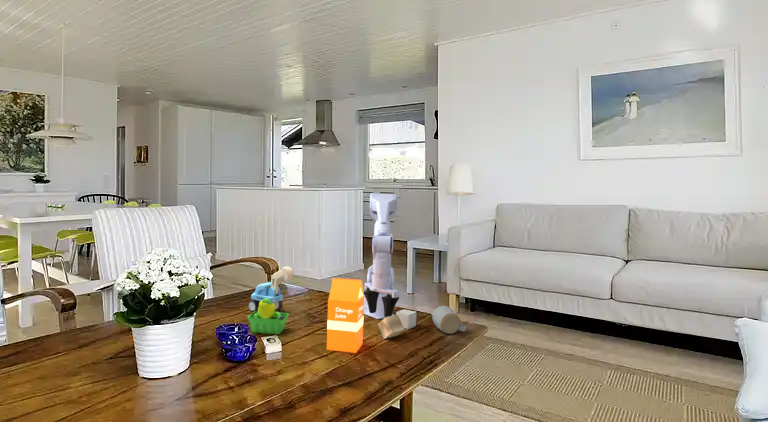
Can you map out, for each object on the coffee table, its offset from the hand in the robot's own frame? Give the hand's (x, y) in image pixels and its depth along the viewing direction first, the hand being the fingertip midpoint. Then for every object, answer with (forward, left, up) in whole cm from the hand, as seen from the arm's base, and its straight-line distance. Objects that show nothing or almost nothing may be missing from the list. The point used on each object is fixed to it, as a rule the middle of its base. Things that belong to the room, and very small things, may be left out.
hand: (380, 315), depth 149 cm
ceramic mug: (+11, +21, -6) cm, 25 cm away
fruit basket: (-22, -28, -6) cm, 36 cm away
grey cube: (-1, +12, -6) cm, 13 cm away
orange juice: (+3, -16, -6) cm, 17 cm away
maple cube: (+3, 0, -4) cm, 5 cm away
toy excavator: (-41, -17, -6) cm, 44 cm away
